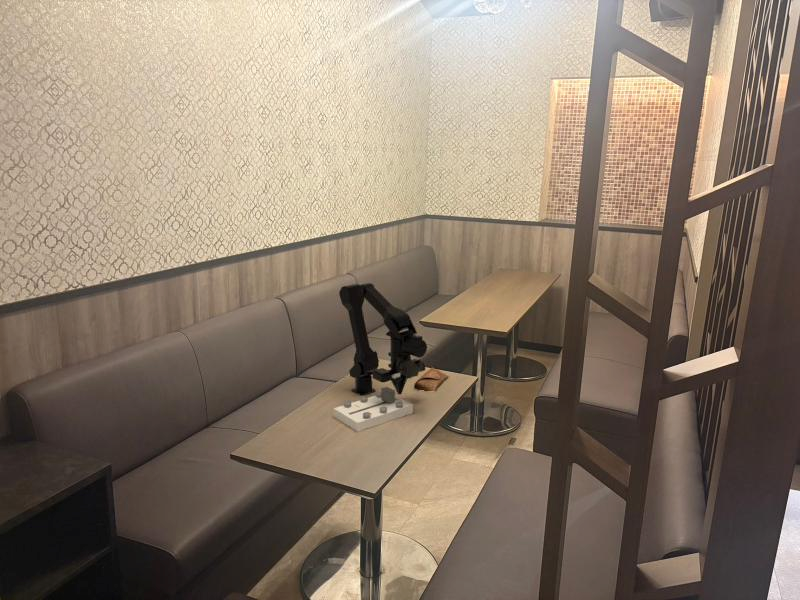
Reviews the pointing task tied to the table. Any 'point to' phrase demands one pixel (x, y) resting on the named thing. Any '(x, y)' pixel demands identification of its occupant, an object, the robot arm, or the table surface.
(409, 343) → the robot arm
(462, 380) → the table surface
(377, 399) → the mixer console
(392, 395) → the fader
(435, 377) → the sunglasses case
